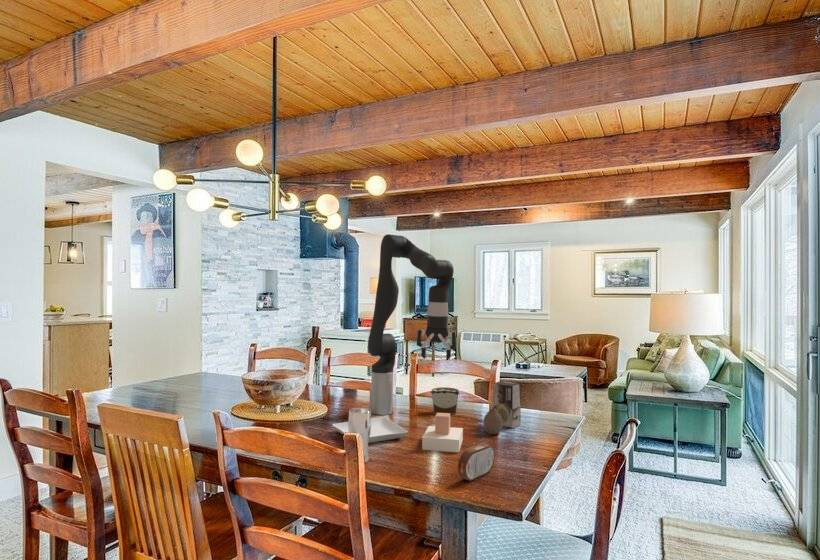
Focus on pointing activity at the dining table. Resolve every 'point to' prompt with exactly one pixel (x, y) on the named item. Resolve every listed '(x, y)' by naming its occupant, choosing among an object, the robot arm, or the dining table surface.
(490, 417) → the vase
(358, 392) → the dining table surface
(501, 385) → the coffee box
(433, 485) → the dining table surface
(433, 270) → the robot arm
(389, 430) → the salad plate
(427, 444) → the plinth
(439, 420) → the light pinkish-tan block
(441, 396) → the food container
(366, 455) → the beer glass
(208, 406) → the dining table surface
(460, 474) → the tin
